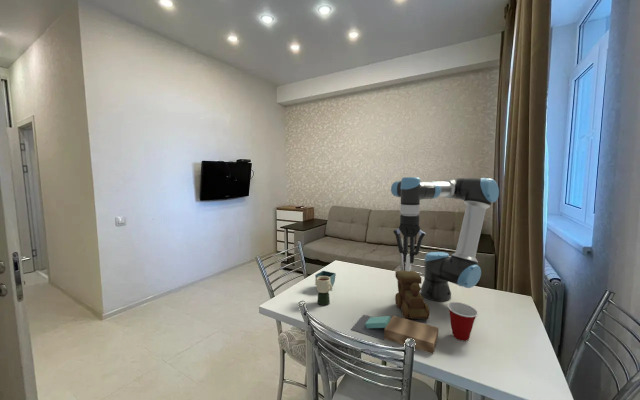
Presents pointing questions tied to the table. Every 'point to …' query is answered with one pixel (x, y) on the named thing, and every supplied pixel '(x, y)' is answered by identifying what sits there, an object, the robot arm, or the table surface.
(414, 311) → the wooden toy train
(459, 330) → the plastic cup
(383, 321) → the teal rectangular block
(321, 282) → the character mug
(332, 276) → the flower pot
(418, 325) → the brown rectangular block
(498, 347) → the table surface
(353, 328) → the mat
